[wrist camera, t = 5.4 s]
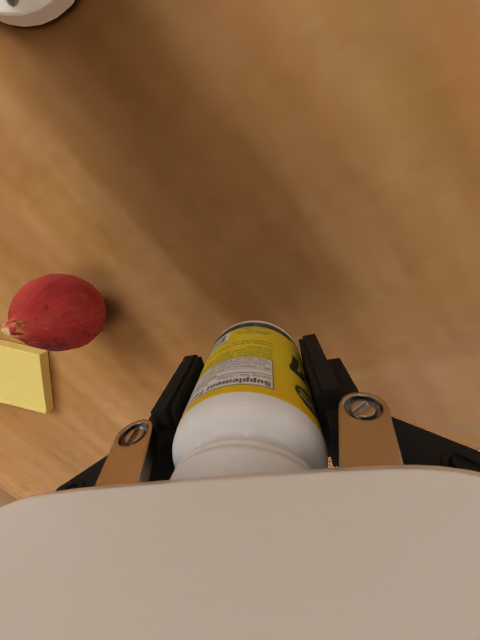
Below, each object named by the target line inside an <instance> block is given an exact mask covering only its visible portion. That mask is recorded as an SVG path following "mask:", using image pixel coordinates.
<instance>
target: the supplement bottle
mask: <svg viewBox="0 0 480 640" xmlns="http://www.w3.org/2000/svg"><path fill="white" fill-rule="evenodd" d="M172 457H173V463H174V467H175V470H174V472H173V474H172V476H171V478H170V480H176V479H189V478H202V477H215V476H228V475H241V474H254V473H269V472H283V471H297V470H311V469H325V468H328V456H327V449H326V444H325V440H324V436H323V433H322V429H321V426H320V423H319V419H318V416H317V412H316V409H315V405H314V401H313V398H312V395H311V391H310V387H309V384H308V381H307V377H306V373H305V370H304V366H303V363H302V359H301V356H300V353H299V350H298V348H297V345H296V344H295V342H294V340H293V339H292V338H291V337H290V335H289V334H288V333H287V332H285V331H284V330H283V329H281V328H280V327H278V326H276V325H274V324H271V323H268V322H264V321H245V322H241V323H238V324H235V325H233V326H231V327H229V328H228V329H227V330H225V331H224V332H223V333H222V334H221V335H220V336H219V337H218V339H217V340H216V342H215V344H214V345H213V348H212V349H211V352H210V354H209V356H208V359H207V361H206V363H205V365H204V368H203V370H202V372H201V374H200V377H199V379H198V381H197V384H196V386H195V388H194V391H193V393H192V395H191V397H190V400H189V402H188V404H187V406H186V409H185V411H184V413H183V416H182V418H181V420H180V422H179V425H178V427H177V430H176V433H175V436H174V441H173V446H172Z"/></svg>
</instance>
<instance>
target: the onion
mask: <svg viewBox="0 0 480 640" xmlns="http://www.w3.org/2000/svg"><path fill="white" fill-rule="evenodd" d="M106 314H107V313H106V305H105V302H104V300H103V298H102V296H101V294H100V293H99V291H98V290H97V289H96V288H95V287H94V286H93V285H92V284H90V283H88V282H86V281H85V280H83V279H81V278H78V277H76V276H73V275H65V274H51V275H47V276H44V277H40V278H37V279H35V280H33V281H30V282H29V283H27V284H26V285H24V286H23V287H22V288H21V289H20V290H19V292H18V293H17V294H16V295H15V296H14V298H13V300H12V302H11V305H10V308H9V312H8V319H9V321H8V322H6V323H4V324H3V325H2V329H1V331H2V333H4V334H6V335H8V336H11V337H14V338H18V339H19V340H21V341H22V342H24V343H25V344H27V345H29V346H31V347H34V348H39V349H44V350H49V351H64V350H69V349H74V348H79V347H82V346H84V345H86V344H88V343H89V342H90V341H92V340H93V339H94V338H95V337H96V336H97V335H98V334H99V333H100V332H101V331H102V330H103V327H104V323H105V319H106Z"/></svg>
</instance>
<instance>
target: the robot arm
mask: <svg viewBox="0 0 480 640" xmlns="http://www.w3.org/2000/svg"><path fill="white" fill-rule="evenodd" d="M74 1H75V0H0V21H1V22H3V23H6V24H8V25H15V26H22V27H29V26H36V25H42V24H44V23H47V22H49V21H51V20H53V19H55V18H57V17H59V16H60V15H61V14H62V13H63V12H64V11H66V10H67V9H68V8H69V7H70V6H71V5H72V4H73V3H74ZM299 344H300V350H301V355H302V361H303V366H304V370H305V373H306V377H307V381H308V384H309V387H310V391H311V395H312V398H313V401H314V405H315V409H316V412H317V416H318V419H319V423H320V426H321V429H322V433H323V436H324V440H325V444H326V449H327V456H328V457H331V460H332V463H333V467H335V466H338V467H339V468H325V469H311V470H297V471H283V472H269V473H254V474H241V475H228V476H215V477H202V478H189V479H176V480H170V478H171V476H172V474H173V472H174V470H175V467H174V463H173V457H172V446H173V441H174V436H175V433H176V430H177V427H178V425H179V422H180V420H181V418H182V416H183V413H184V411H185V409H186V406H187V404H188V402H189V400H190V397H191V395H192V393H193V391H194V388H195V386H196V384H197V381H198V379H199V377H200V374H201V372H202V370H203V368H204V363H203V360H202V358H201V357H198V356H197V355H191V356H185V357H184V359H183V361H182V362H181V364H180V365H179V367H178V369H177V370H176V372H175V374H174V375H173V377H172V378H171V380H170V382H169V383H168V385H167V387H166V388H165V390H164V391H163V393H162V395H161V396H160V398H159V399H158V401H157V403H156V404H155V406H154V408H153V409H152V411H151V414H152V415H151V417H150V418H149V420H145V419H143V420H138V421H136V422H133V423H131V424H130V425H128V426H127V427H125V428H124V429H123V430H122V431H121V432H120V433H119V434H118V435H117V437H116V438H115V440H114V443H113V445H112V447H111V449H110V452H109V454H108V455H107V456H106V457H104V458H103V459H101V460H100V461H98V462H97V463H95V464H94V465H92V466H91V467H89V468H88V469H86V470H85V471H83V472H82V473H80V474H79V475H77V476H76V477H74V478H73V479H71V480H70V481H68V482H67V483H65V484H64V485H62V486H60V487H59V488H58V489H57V490H56V491H52V492H47V493H42V494H38V495H33V496H30V497H27V498H24V499H21V500H17V501H15V502H12V503H10V504H7V505H5V506H3V507H0V640H480V452H479V451H477V450H474V449H472V448H469V447H467V446H464V445H461V444H459V443H456V442H454V441H451V440H449V439H446V438H444V437H441V436H439V435H436V434H434V433H431V432H429V431H426V430H424V429H421V428H419V427H416V426H414V425H411V424H409V423H406V422H404V421H401V420H399V419H396V418H394V417H391V414H390V410H389V407H388V406H387V404H386V402H384V401H383V400H382V399H381V398H379V397H378V396H376V395H373V394H370V393H364V392H359V391H358V389H357V388H356V386H355V384H354V382H353V381H352V379H351V377H350V375H349V374H348V372H347V370H346V368H345V367H344V365H343V363H342V361H341V360H340V358H336V359H329V360H327V359H326V357H325V355H324V353H323V350H322V348H321V346H320V344H319V342H318V340H317V338H316V335H315V334H311V335H306V336H303V339H300V340H299Z"/></svg>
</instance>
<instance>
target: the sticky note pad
mask: <svg viewBox="0 0 480 640" xmlns="http://www.w3.org/2000/svg"><path fill="white" fill-rule="evenodd" d="M0 402H1V403H5V404H9V405H13V406H17V407H21V408H25V409H29V410H33V411H37V412H41V413H45V414H47V413H48V412H49V411H51V410H52V409H53V408H54V406H53V397H52V387H51V378H50V368H49V359H48V351H47V350H43V349H39V348H34V347H31V346H27V345H22V344H18V343H14V342H10V341H6V340H2V339H0Z"/></svg>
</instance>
